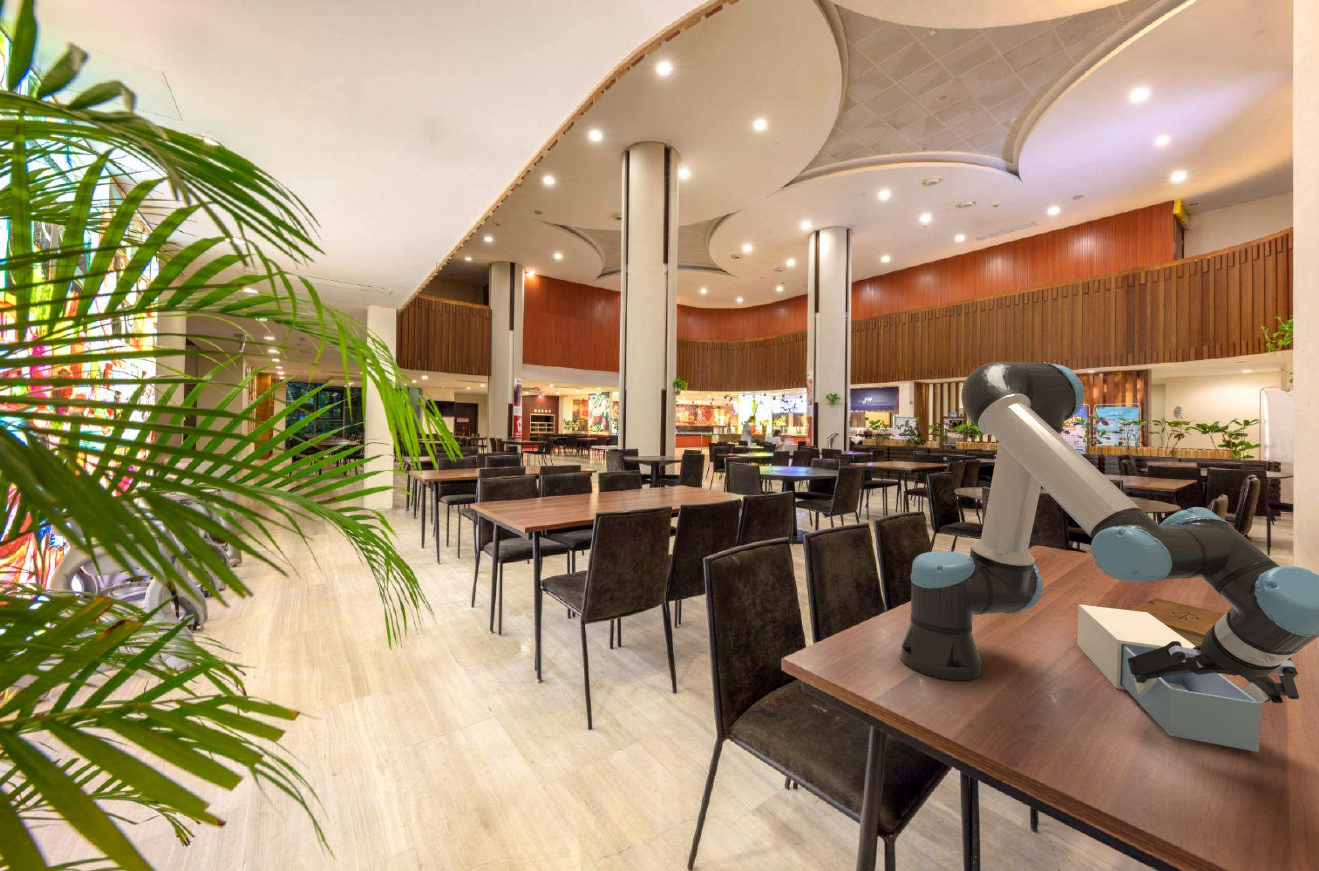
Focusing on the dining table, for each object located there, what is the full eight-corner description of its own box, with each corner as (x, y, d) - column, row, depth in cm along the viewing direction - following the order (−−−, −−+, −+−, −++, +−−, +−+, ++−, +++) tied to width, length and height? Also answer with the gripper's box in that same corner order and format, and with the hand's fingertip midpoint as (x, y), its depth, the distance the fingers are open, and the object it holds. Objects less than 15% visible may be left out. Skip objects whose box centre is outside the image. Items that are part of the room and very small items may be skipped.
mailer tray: (1259, 751, 82) (1261, 703, 81) (1169, 735, 86) (1170, 689, 86) (1183, 686, 102) (1185, 648, 102) (1113, 675, 106) (1115, 638, 106)
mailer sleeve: (1201, 702, 98) (1203, 651, 98) (1116, 688, 103) (1117, 639, 103) (1146, 654, 118) (1147, 612, 118) (1077, 644, 123) (1078, 604, 123)
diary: (1151, 618, 143) (1152, 597, 143) (1253, 643, 127) (1254, 619, 126) (1116, 633, 131) (1117, 611, 131) (1223, 664, 115) (1224, 638, 115)
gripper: (1146, 652, 79) (1103, 701, 93) (1389, 686, 69) (1300, 736, 83) (1131, 605, 83) (1093, 659, 98) (1357, 631, 74) (1278, 687, 88)
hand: (1188, 695), depth 90 cm, fingers open, 13 cm apart
